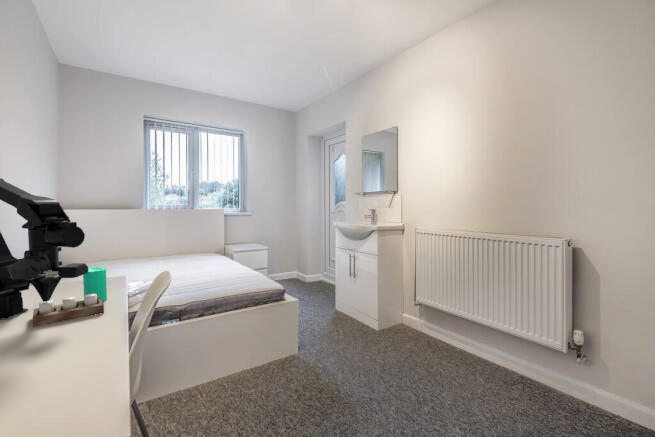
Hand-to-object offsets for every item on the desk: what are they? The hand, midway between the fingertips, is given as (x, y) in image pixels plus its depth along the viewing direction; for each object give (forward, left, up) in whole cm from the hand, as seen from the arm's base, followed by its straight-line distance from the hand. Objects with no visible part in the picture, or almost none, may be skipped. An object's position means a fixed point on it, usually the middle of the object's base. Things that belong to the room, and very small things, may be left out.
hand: (46, 301), depth 83 cm
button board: (+3, +3, -5) cm, 7 cm away
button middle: (+3, +3, -4) cm, 6 cm away
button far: (+7, +7, -4) cm, 10 cm away
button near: (0, 0, -4) cm, 4 cm away
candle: (+1, +15, -6) cm, 16 cm away
